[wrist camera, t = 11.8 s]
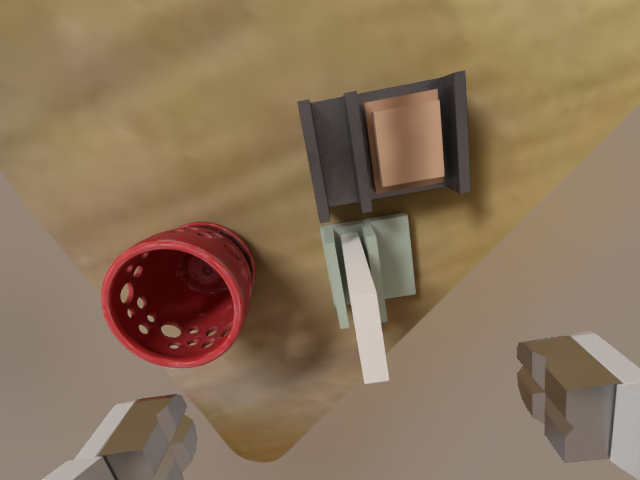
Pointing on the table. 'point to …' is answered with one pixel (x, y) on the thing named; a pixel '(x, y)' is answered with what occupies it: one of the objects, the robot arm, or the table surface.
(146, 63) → the table surface
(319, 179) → the offcut rack
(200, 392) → the table surface
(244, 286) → the plant pot
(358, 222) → the sheet stand
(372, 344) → the tall sheet
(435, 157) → the offcut upper
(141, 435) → the robot arm
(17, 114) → the table surface
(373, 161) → the offcut lower
